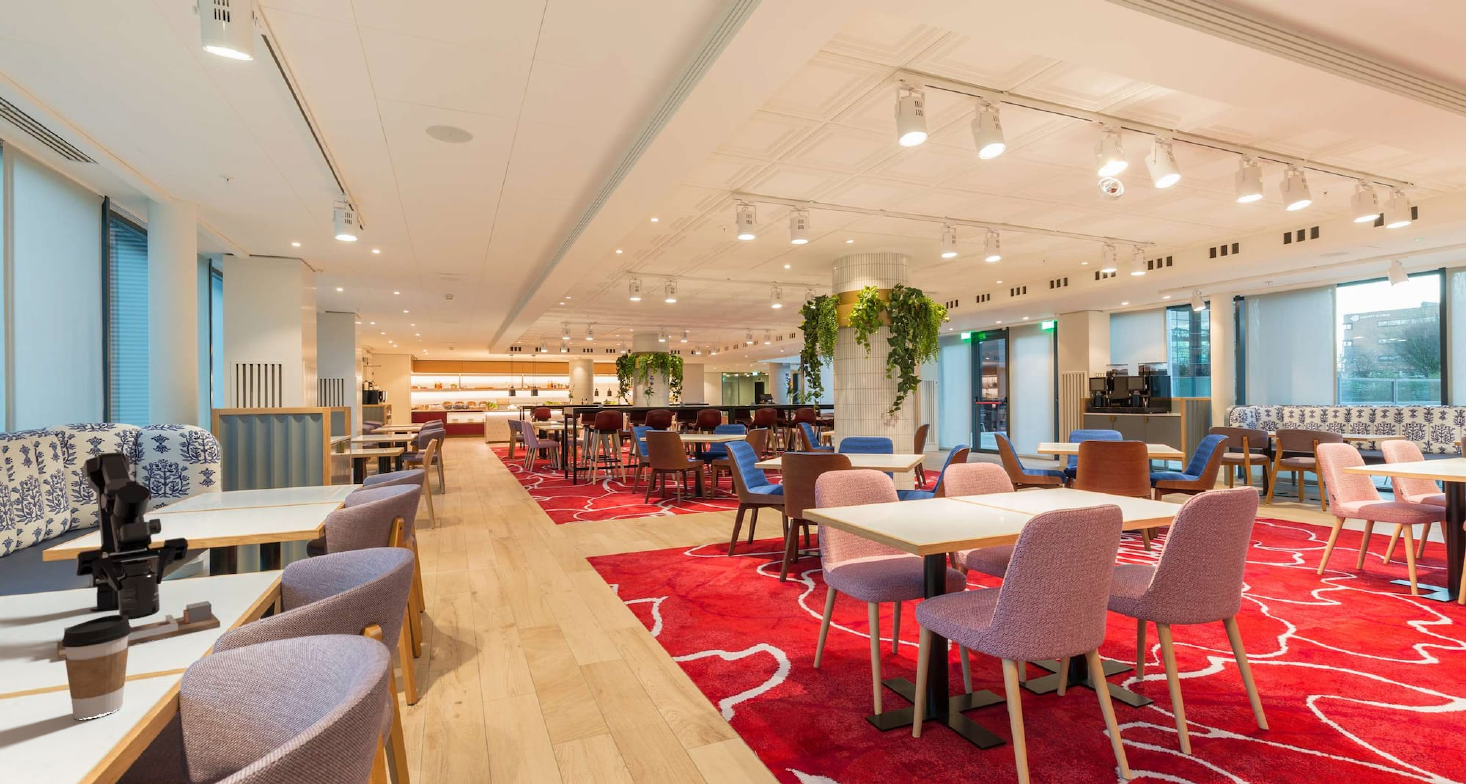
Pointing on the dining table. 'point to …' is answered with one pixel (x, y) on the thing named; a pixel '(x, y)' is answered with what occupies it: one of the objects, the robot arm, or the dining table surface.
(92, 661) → the coffee cup
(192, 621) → the walnut rail
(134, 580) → the supplement bottle
